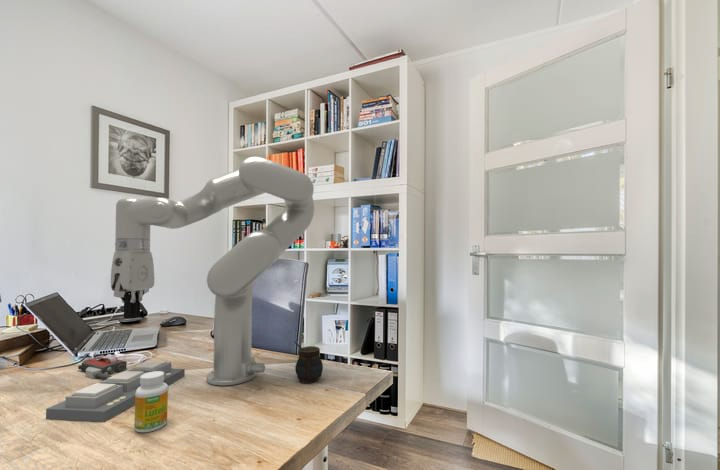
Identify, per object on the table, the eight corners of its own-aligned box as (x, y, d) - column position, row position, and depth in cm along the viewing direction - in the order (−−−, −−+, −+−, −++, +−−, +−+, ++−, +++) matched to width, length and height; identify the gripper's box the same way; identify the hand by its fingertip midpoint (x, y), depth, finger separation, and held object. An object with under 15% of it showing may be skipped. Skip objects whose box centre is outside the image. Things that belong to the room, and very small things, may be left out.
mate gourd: (323, 384, 84) (323, 344, 85) (293, 386, 83) (293, 345, 84) (322, 374, 92) (322, 337, 92) (294, 376, 90) (294, 338, 91)
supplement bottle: (142, 436, 61) (144, 381, 61) (128, 428, 64) (130, 376, 64) (172, 423, 65) (173, 372, 66) (158, 416, 68) (159, 368, 69)
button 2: (143, 379, 82) (143, 371, 82) (126, 387, 77) (127, 379, 77) (124, 379, 82) (124, 370, 82) (107, 387, 77) (107, 378, 77)
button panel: (184, 376, 91) (184, 361, 91) (103, 422, 66) (104, 401, 66) (140, 374, 92) (141, 360, 93) (45, 418, 68) (46, 398, 68)
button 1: (165, 368, 90) (166, 361, 90) (152, 375, 85) (152, 367, 85) (148, 368, 90) (149, 360, 90) (134, 374, 85) (134, 366, 85)
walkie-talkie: (68, 374, 95) (109, 385, 86) (69, 358, 95) (110, 368, 86) (103, 364, 103) (144, 374, 94) (104, 350, 103) (144, 358, 94)
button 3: (115, 393, 74) (116, 384, 74) (95, 403, 69) (95, 393, 69) (95, 392, 74) (95, 383, 74) (73, 402, 69) (73, 392, 69)
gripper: (124, 245, 79) (123, 323, 78) (165, 246, 94) (164, 312, 93) (94, 246, 80) (93, 324, 79) (140, 247, 95) (139, 313, 94)
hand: (131, 317), depth 86 cm, fingers closed
